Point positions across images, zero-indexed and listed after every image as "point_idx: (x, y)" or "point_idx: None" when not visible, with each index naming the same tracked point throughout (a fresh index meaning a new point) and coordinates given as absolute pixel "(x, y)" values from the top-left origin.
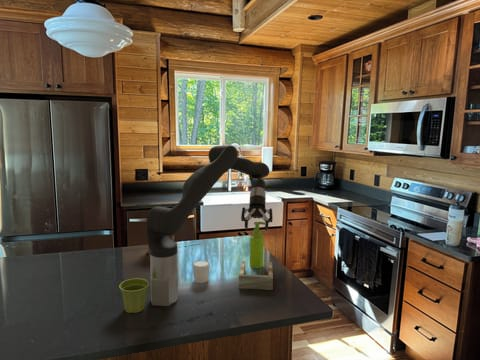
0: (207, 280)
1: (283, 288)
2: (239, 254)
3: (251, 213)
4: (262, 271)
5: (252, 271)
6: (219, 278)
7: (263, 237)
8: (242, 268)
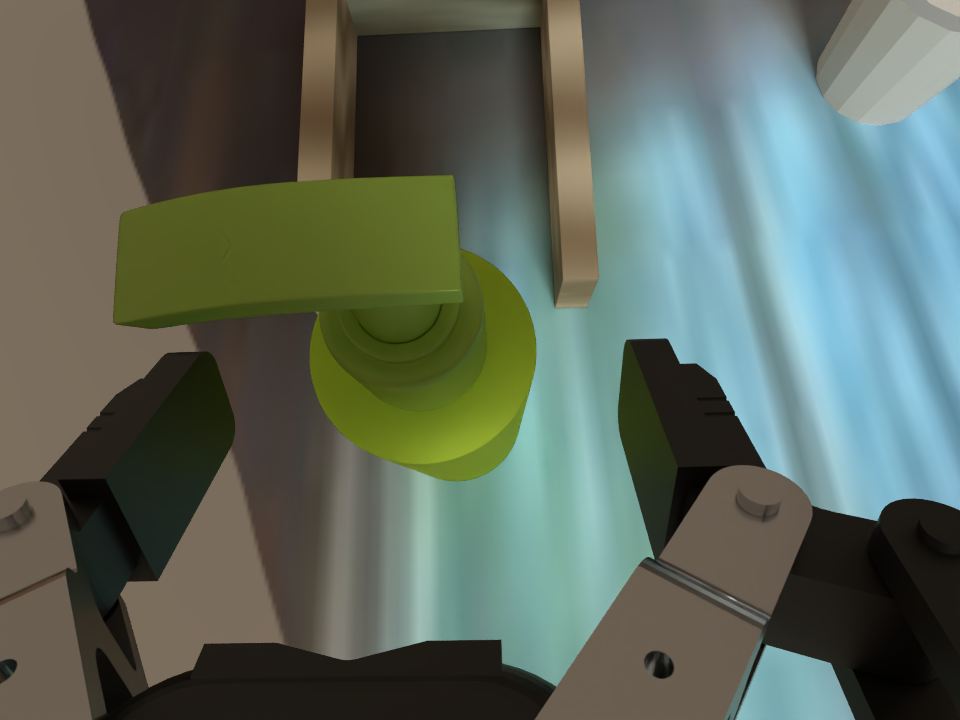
0: (819, 62)
1: (255, 44)
2: None
3: (613, 682)
4: None
5: None
6: (737, 120)
7: (310, 362)
8: (568, 105)
